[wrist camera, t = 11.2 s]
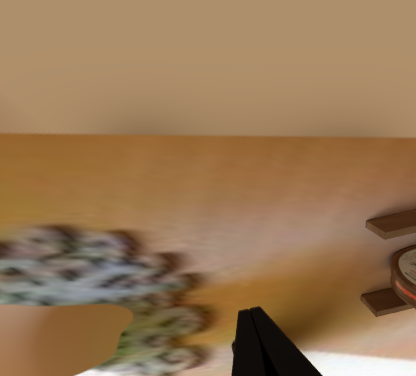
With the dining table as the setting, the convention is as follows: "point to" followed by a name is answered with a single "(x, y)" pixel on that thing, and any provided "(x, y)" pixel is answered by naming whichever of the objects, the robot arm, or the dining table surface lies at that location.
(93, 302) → the dining table surface
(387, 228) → the tray frame
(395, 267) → the tin
